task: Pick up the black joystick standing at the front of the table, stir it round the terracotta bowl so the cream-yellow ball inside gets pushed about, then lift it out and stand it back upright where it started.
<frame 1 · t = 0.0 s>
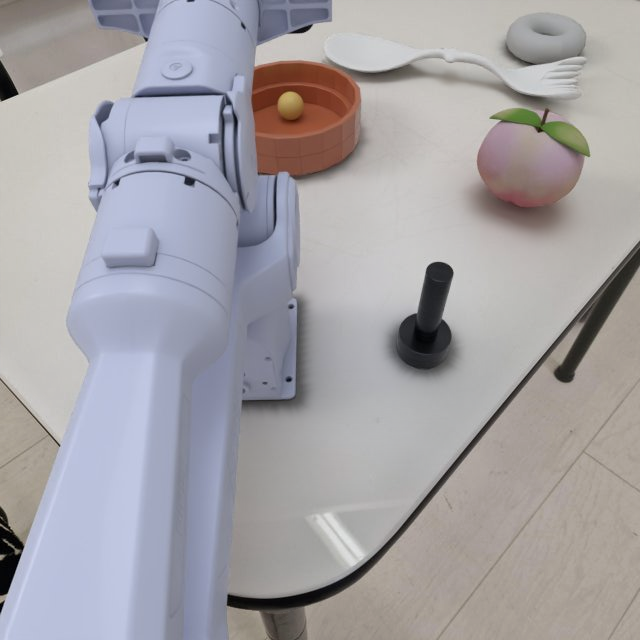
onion: (180, 79, 67), on the table
decorative fruit: (514, 202, 51), on the table
donut: (540, 52, 69), on the table
black joystick: (421, 347, 41), on the table
bowl: (292, 137, 58), on the table
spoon: (443, 79, 65), on the table
ball a: (290, 105, 59), point 2 cm above the table, touching bowl
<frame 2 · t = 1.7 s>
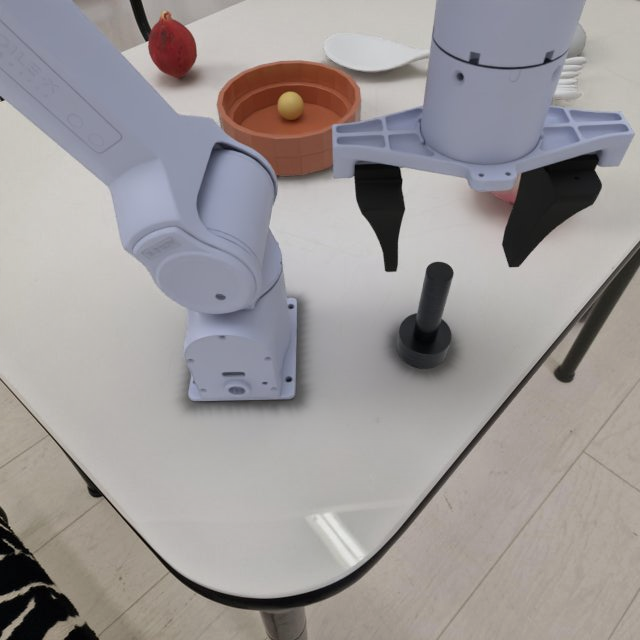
hand: (449, 258, 33), 10 cm above the table, tool pointing down, fingers open, 7 cm apart
nothing on the table moved.
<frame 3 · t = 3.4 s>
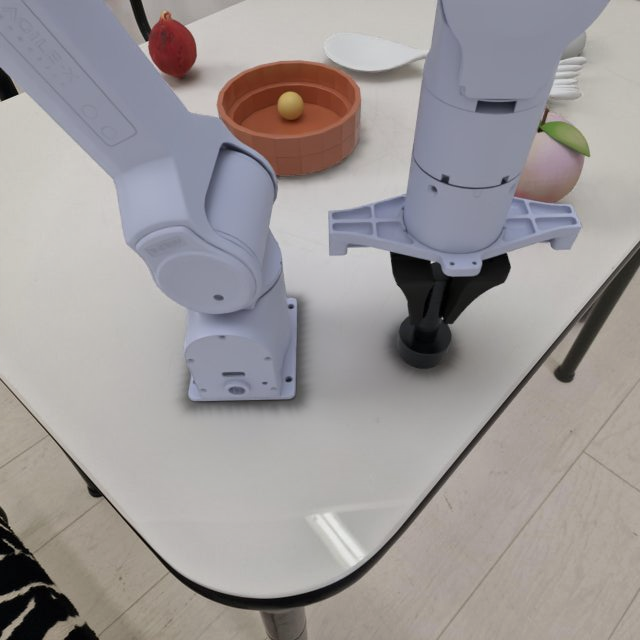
hand: (429, 313, 37), 4 cm above the table, tool pointing down, fingers closed on black joystick, 2 cm apart
black joystick: (421, 347, 41), on the table, touching gripper
everything else where it was.
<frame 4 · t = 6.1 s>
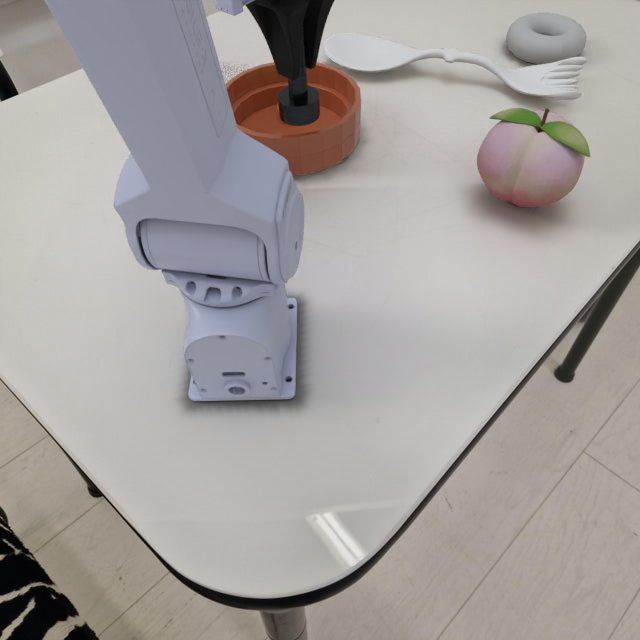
hand: (296, 70, 47), 10 cm above the table, tool pointing down, fingers closed on black joystick
black joystick: (299, 114, 50), point 6 cm above the table, touching gripper
everything else where it was.
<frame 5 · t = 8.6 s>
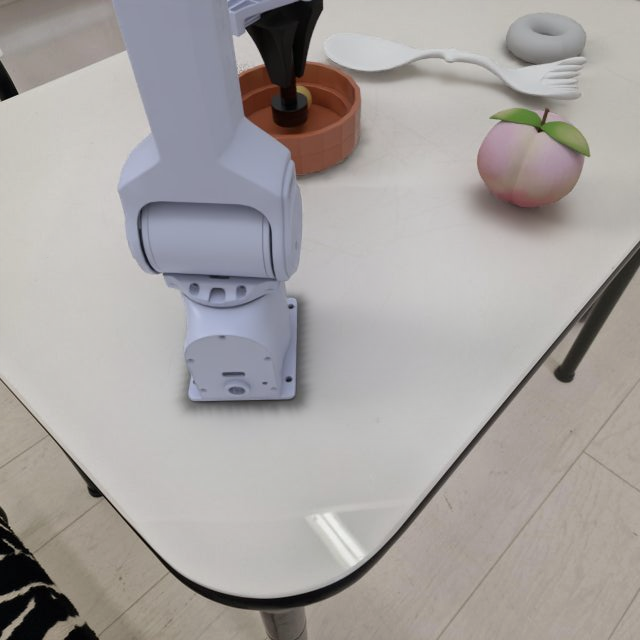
hand: (287, 79, 54), 6 cm above the table, tool pointing down, fingers closed on black joystick, 2 cm apart
black joystick: (290, 117, 57), point 2 cm above the table, touching gripper
ball a: (299, 99, 59), point 2 cm above the table, tilted 55°, touching bowl
everything else where it was.
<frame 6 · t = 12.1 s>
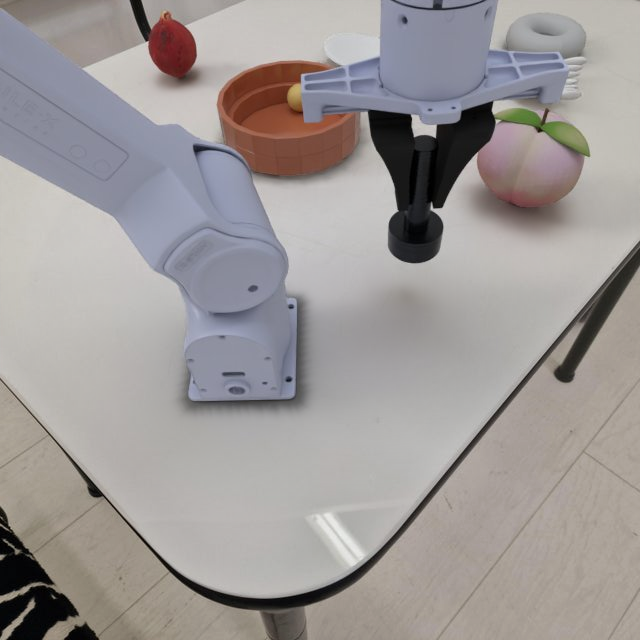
hand: (418, 200, 36), 10 cm above the table, tool pointing down, fingers closed on black joystick
black joystick: (413, 244, 39), point 6 cm above the table, touching gripper
ball a: (300, 97, 60), point 2 cm above the table, tilted 72°, touching bowl
everything else where it was.
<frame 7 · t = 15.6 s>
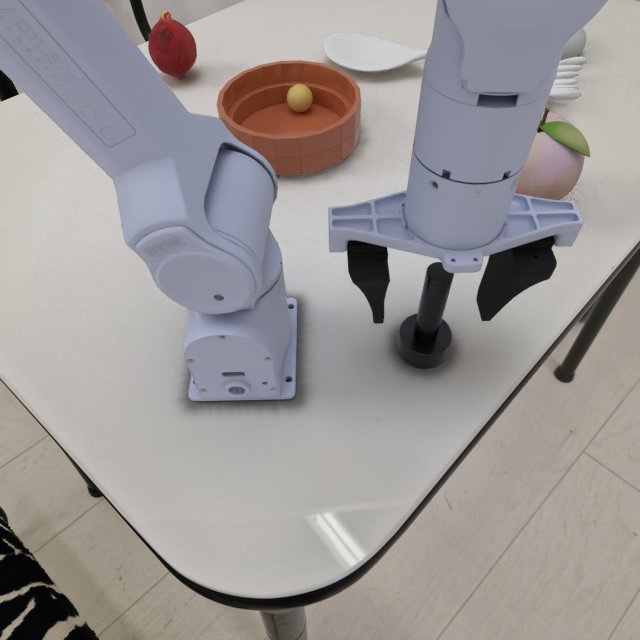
hand: (430, 311, 37), 5 cm above the table, tool pointing down, fingers open, 7 cm apart
black joystick: (422, 347, 41), on the table
everything else where it was.
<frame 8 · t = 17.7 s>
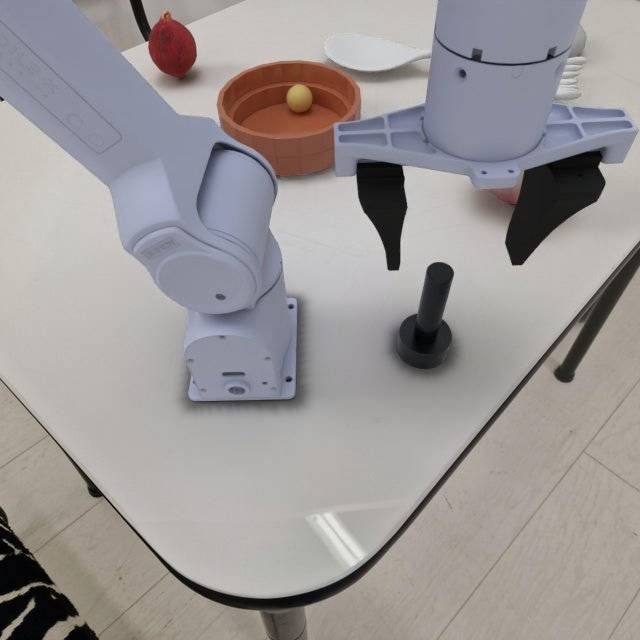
hand: (452, 256, 33), 10 cm above the table, tool pointing down, fingers open, 7 cm apart
nothing on the table moved.
at the end: ball a moved 1.8 cm from its start; ball a inside the target area in the bowl (4.6 cm from its centre), point 2.1 cm above the bowl's base; black joystick tilted 0° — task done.
